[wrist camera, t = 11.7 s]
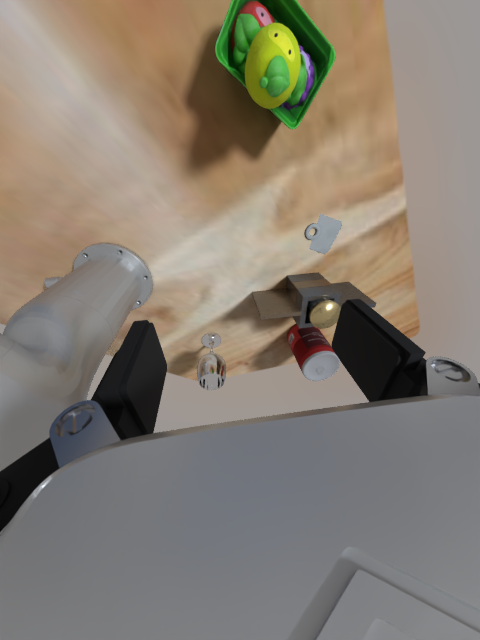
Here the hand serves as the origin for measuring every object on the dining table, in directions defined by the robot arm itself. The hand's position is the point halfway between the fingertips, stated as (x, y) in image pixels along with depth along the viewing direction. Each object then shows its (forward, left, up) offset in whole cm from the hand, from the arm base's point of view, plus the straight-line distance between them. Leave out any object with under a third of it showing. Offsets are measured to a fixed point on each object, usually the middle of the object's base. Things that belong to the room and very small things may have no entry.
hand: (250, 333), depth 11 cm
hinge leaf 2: (+18, -14, -30) cm, 38 cm away
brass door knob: (+15, -14, -30) cm, 37 cm away
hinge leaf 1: (+11, -14, -30) cm, 35 cm away
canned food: (+17, -26, -30) cm, 43 cm away
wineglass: (-5, -25, -30) cm, 40 cm away
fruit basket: (+7, +16, -31) cm, 35 cm away
